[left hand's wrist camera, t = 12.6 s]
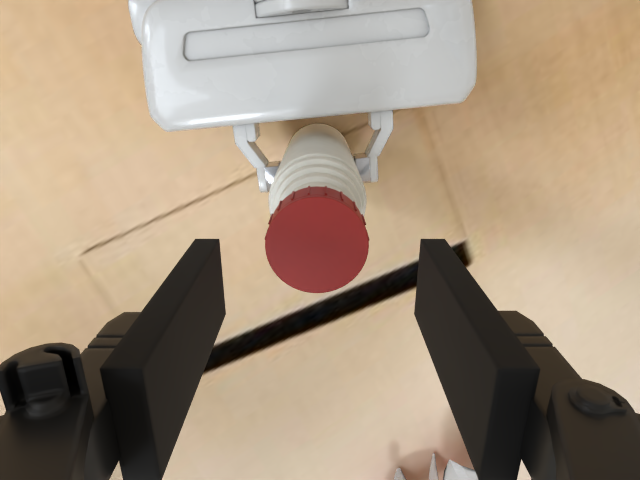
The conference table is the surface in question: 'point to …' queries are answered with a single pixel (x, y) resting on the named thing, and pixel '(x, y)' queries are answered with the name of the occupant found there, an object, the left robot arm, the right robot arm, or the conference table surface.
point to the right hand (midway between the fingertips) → (319, 185)
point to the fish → (445, 472)
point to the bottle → (317, 166)
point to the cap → (317, 240)
